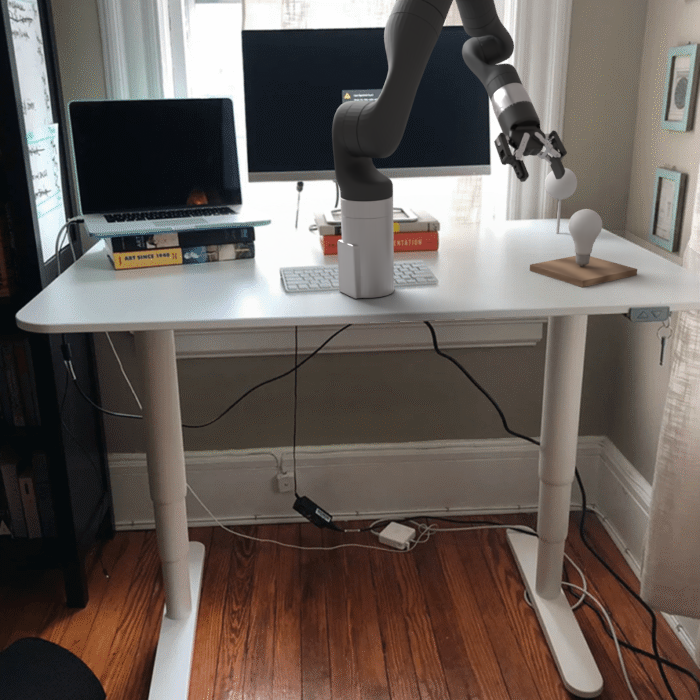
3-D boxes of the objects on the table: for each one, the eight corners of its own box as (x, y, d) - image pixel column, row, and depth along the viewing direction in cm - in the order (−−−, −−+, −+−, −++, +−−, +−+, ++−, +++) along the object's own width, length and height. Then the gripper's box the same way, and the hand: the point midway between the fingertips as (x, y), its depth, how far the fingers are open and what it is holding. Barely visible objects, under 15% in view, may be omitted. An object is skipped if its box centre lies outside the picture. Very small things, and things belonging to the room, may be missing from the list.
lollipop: (570, 229, 188) (575, 165, 182) (575, 236, 181) (580, 169, 176) (540, 230, 188) (543, 165, 183) (544, 236, 182) (547, 170, 176)
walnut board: (582, 287, 144) (582, 280, 144) (529, 270, 155) (529, 264, 155) (636, 275, 150) (637, 268, 150) (582, 259, 162) (582, 254, 161)
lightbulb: (575, 271, 149) (580, 213, 145) (559, 263, 155) (563, 207, 151) (604, 268, 151) (610, 210, 147) (588, 261, 156) (592, 205, 152)
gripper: (493, 100, 156) (522, 168, 151) (553, 98, 161) (583, 164, 156) (477, 125, 162) (504, 191, 157) (534, 123, 168) (562, 187, 162)
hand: (543, 178), depth 156 cm, fingers open, 8 cm apart
